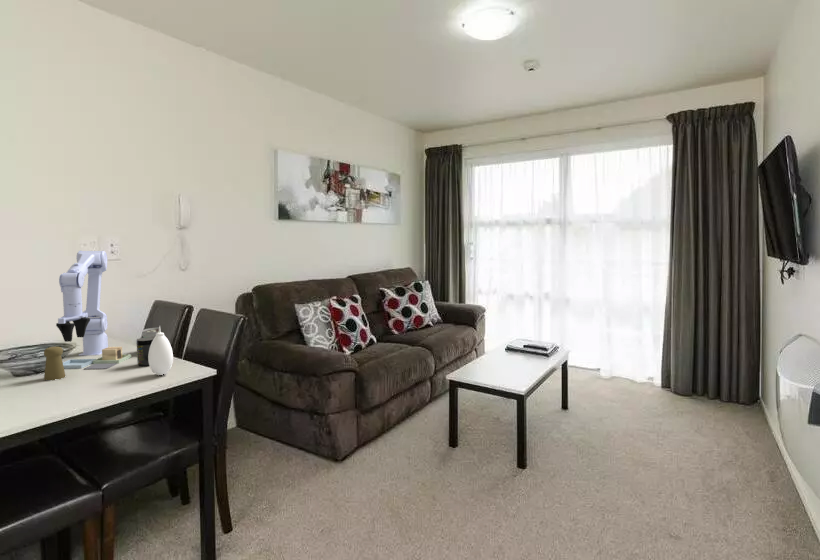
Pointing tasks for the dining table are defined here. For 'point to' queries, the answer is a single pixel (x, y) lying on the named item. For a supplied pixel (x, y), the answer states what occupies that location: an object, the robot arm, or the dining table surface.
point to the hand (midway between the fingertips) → (74, 339)
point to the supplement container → (143, 351)
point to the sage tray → (100, 361)
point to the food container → (150, 332)
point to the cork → (54, 363)
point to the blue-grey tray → (77, 363)
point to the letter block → (112, 353)
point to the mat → (100, 366)
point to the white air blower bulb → (160, 354)
